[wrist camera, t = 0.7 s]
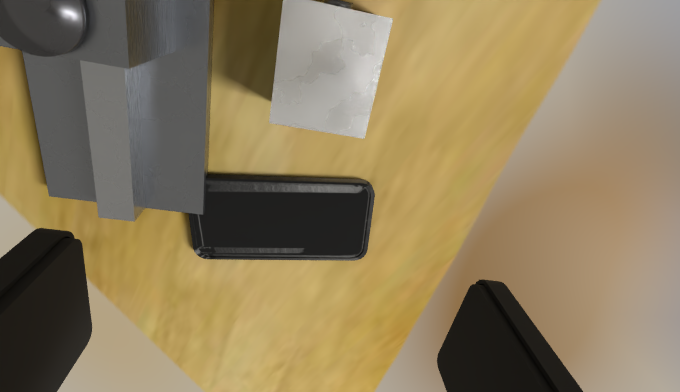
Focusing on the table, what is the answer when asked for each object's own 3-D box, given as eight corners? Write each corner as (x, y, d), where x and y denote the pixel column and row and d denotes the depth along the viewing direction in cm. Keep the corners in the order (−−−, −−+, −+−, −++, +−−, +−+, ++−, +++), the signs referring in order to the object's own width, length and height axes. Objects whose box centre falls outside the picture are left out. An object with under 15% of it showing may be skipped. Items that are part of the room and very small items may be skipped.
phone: (183, 177, 28) (376, 183, 30) (188, 171, 29) (374, 178, 30) (194, 260, 31) (365, 261, 33) (198, 252, 32) (364, 254, 34)
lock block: (274, 102, 27) (269, 122, 22) (288, -10, 23) (284, -13, 19) (354, 116, 28) (364, 138, 23) (378, 10, 24) (394, 12, 20)
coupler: (17, -56, 21) (-151, -89, 13) (214, -13, 23) (168, -19, 15) (58, 188, 28) (-35, 260, 20) (206, 207, 30) (172, 278, 22)
